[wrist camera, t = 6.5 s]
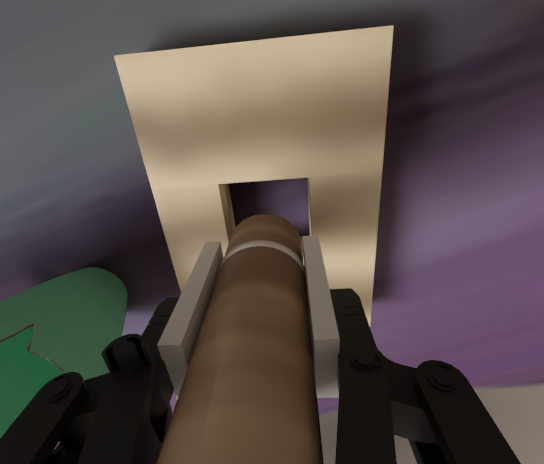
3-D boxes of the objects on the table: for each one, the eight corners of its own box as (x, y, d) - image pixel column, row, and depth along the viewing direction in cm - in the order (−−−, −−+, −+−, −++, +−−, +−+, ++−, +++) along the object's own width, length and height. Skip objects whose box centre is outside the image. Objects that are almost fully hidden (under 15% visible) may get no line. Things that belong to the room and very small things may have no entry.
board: (138, 58, 18) (113, 55, 16) (376, 32, 17) (393, 25, 15) (202, 313, 27) (193, 338, 25) (361, 306, 26) (369, 332, 24)
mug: (134, 235, 24) (45, 330, 15) (169, 327, 28) (117, 442, 20) (-34, 252, 25) (-205, 349, 16) (25, 338, 30) (-85, 450, 21)
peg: (223, 215, 16) (105, 485, 6) (301, 209, 16) (335, 485, 5) (234, 278, 18) (162, 571, 7) (304, 275, 18) (334, 574, 7)
